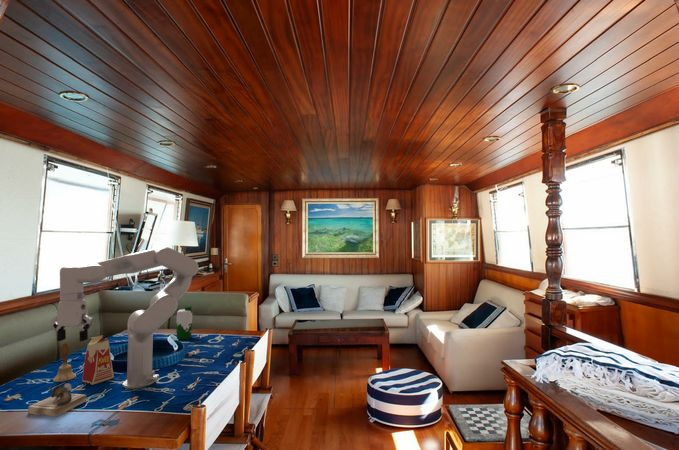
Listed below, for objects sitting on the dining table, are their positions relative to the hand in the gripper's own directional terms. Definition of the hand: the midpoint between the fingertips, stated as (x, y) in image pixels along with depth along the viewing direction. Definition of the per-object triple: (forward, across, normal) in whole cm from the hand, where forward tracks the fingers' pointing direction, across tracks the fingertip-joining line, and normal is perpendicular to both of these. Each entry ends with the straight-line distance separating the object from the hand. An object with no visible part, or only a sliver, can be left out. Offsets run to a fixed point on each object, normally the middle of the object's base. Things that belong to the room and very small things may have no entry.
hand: (72, 340), depth 140 cm
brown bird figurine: (+20, -3, +8) cm, 22 cm away
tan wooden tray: (+23, -1, +8) cm, 24 cm away
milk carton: (+23, +6, -19) cm, 31 cm away
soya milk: (+25, +5, -88) cm, 92 cm away
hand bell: (+23, +22, -19) cm, 37 cm away
